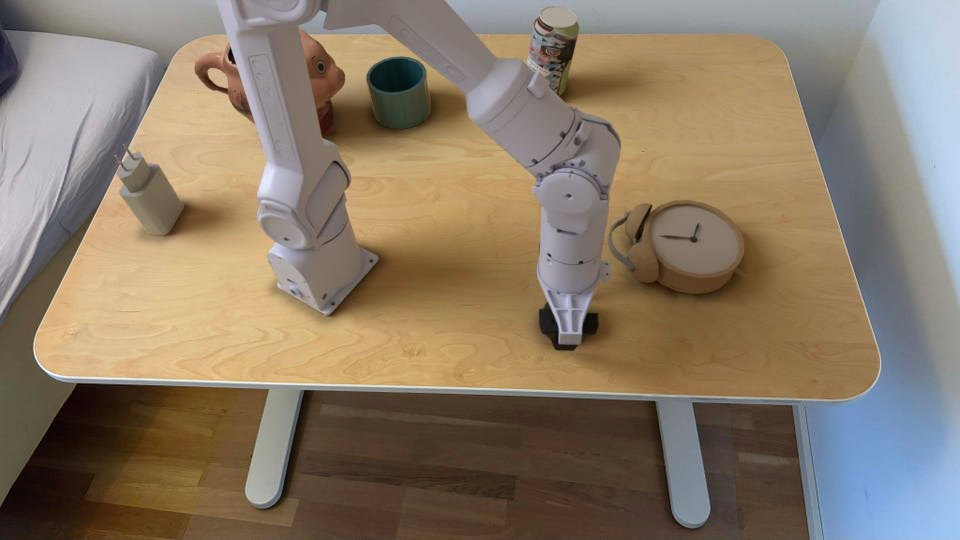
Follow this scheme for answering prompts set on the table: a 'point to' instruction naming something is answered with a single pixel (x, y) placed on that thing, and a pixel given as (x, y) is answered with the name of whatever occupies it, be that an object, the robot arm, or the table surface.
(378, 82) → the cup
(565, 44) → the beverage can
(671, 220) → the alarm clock
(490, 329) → the table surface
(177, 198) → the power adapter
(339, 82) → the decorative planter
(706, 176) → the table surface
